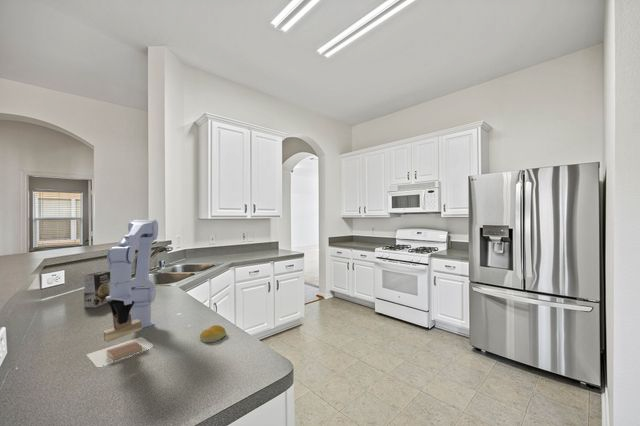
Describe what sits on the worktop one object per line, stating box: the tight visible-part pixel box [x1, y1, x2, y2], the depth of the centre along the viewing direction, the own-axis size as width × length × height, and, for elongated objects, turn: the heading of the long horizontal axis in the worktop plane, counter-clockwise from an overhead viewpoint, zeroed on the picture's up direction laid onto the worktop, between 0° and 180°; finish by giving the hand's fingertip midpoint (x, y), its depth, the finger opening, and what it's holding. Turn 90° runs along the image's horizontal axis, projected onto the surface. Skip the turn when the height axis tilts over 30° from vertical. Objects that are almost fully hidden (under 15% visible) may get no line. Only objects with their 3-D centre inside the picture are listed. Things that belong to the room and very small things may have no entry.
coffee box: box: [83, 271, 111, 308], centre depth 137 cm, size 9×6×16 cm
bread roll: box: [199, 324, 227, 343], centre depth 100 cm, size 8×9×4 cm
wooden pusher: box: [103, 313, 143, 343], centre depth 92 cm, size 4×10×7 cm, turn 143°
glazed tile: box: [106, 341, 142, 361], centre depth 88 cm, size 2×8×6 cm
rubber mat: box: [86, 336, 154, 368], centre depth 90 cm, size 13×16×1 cm
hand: (120, 321), depth 91 cm, fingers closed on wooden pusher, 4 cm apart
